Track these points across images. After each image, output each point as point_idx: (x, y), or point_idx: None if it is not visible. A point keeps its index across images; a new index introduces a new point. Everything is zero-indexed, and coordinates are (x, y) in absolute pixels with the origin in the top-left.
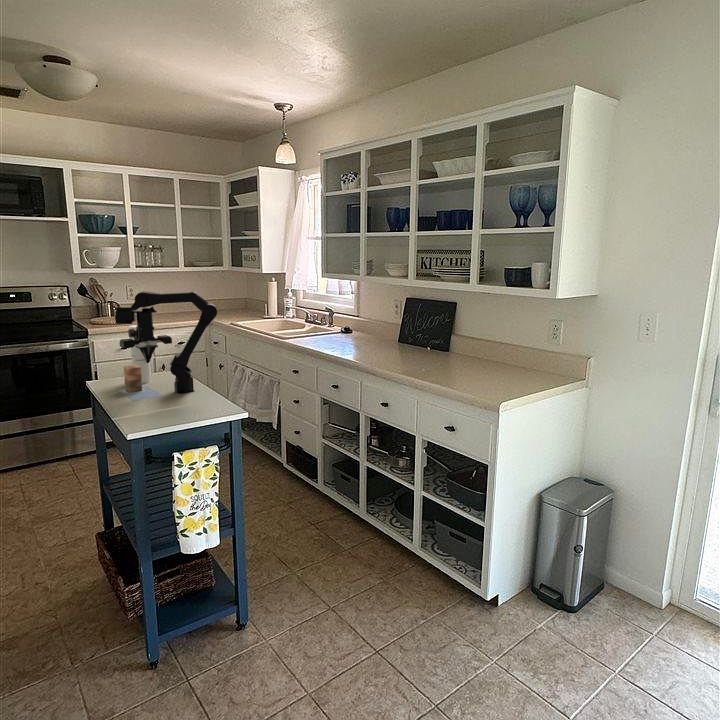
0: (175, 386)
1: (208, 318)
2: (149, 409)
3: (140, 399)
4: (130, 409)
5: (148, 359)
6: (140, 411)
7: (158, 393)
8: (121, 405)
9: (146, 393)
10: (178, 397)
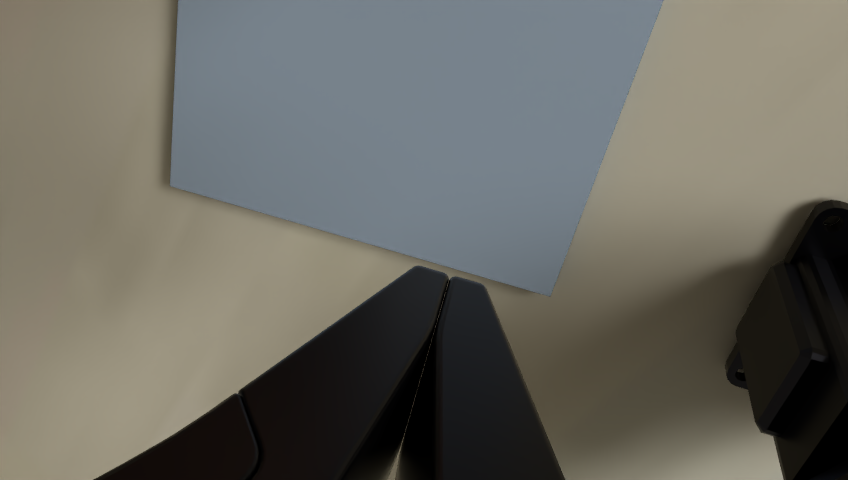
0: (767, 347)
1: None
2: None
3: (256, 193)
4: (70, 331)
5: (401, 454)
6: (120, 432)
7: (575, 149)
8: (36, 156)
9: (466, 7)
10: (638, 402)
